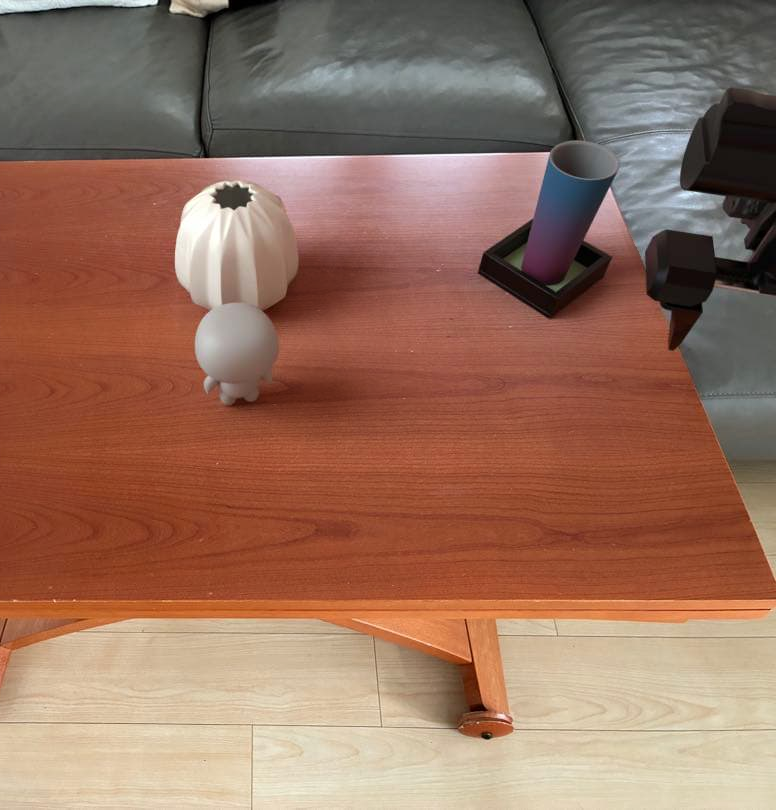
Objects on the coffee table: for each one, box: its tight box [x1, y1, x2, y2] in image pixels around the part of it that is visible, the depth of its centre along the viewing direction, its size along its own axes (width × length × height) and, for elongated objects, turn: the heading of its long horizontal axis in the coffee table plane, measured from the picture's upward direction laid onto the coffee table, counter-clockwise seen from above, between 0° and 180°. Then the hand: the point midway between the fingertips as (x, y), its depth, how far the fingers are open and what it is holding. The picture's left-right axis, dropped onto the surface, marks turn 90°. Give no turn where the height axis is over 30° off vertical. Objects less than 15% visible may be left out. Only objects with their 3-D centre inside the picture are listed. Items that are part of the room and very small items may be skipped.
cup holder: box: [477, 218, 613, 320], centre depth 89 cm, size 10×10×3 cm
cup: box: [521, 139, 621, 285], centre depth 84 cm, size 7×7×15 cm
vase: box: [174, 179, 300, 312], centre depth 86 cm, size 14×14×13 cm
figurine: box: [194, 303, 280, 406], centre depth 76 cm, size 8×8×12 cm
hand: (728, 357), depth 65 cm, fingers open, 9 cm apart
